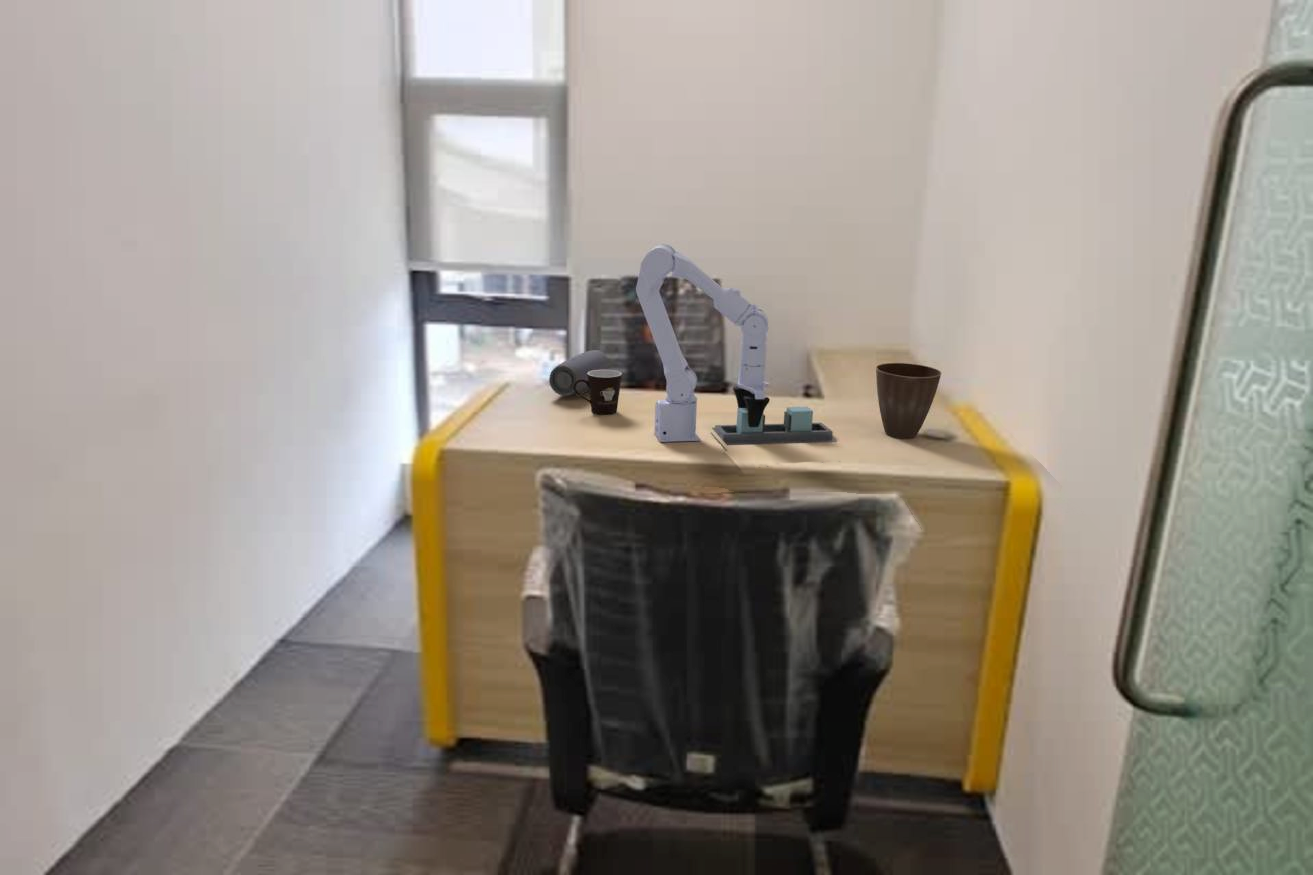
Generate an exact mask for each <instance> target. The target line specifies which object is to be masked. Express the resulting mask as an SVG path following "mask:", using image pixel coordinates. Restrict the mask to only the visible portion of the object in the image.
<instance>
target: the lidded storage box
mask: <svg viewBox="0 0 1313 875" xmlns="http://www.w3.org/2000/svg"><path fill="white" fill-rule="evenodd" d="M764 412H765V411H764ZM764 412H763V414H762V417H761V421H760V424H759V427H749V424H748V412H747V408H738V407H737V412H736V413H737V415H736V425H737V428H736V433H747V432H762V431H764V428H765V424H766V415H765V414H764Z"/></svg>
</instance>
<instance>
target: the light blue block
mask: <svg viewBox="0 0 1313 875" xmlns="http://www.w3.org/2000/svg"><path fill="white" fill-rule="evenodd" d="M813 417H814V411H813V410H812V409H811V408H810V407H808V406H787V407H786V411H784V415H783V424H784V426H783V427H785V431H812V423H813Z"/></svg>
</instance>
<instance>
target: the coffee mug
mask: <svg viewBox="0 0 1313 875" xmlns="http://www.w3.org/2000/svg"><path fill="white" fill-rule="evenodd" d="M587 374H588V381H586V380H584V379H580V380H577V381H576V382H575V383H574V386H573V389H574V391H575V392H576V393H577V394H578V395H577V396H578V397H580V398H582V399H583V400H585V401H587V402H589V404H590V408H591V411H590V412H591V413H592V414H594V415H597V416H613V415H615V414H617V413H618V405H619V404H618V403H619V399H620V398H619V397H620V389H621V383H622V375H623V374H622V372H621V371H619V370H614V369H609V370H593V371H589V372H588V373H587ZM579 382H585V383H586V384H587V386H588V387H589V390H588V392H589V398H587V397H586V396H584V395H582V394H579V393H578V392H577V391H576V384H577V383H579Z"/></svg>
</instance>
